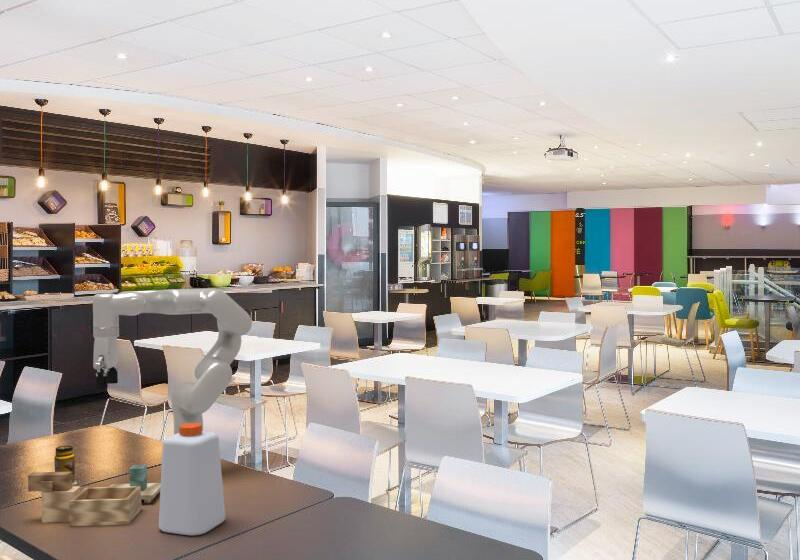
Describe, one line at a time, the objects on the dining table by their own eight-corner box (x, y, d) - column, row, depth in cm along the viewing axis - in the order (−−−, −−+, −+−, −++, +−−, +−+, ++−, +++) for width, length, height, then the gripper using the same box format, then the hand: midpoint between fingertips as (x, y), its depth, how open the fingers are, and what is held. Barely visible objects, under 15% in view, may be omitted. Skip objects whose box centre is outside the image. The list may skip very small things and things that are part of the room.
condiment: (78, 483, 242) (77, 447, 242) (49, 488, 238) (48, 451, 237) (74, 478, 249) (73, 443, 248) (46, 482, 244) (45, 446, 243)
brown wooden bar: (72, 487, 211) (72, 471, 211) (68, 490, 208) (67, 474, 208) (33, 488, 211) (32, 472, 211) (28, 491, 208) (27, 475, 208)
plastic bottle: (231, 519, 209) (229, 420, 208) (200, 538, 194) (198, 433, 193) (185, 513, 213) (183, 417, 212) (152, 532, 199) (149, 429, 198)
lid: (163, 492, 233) (163, 460, 233) (152, 505, 221) (152, 472, 221) (112, 493, 232) (111, 462, 232) (98, 506, 220) (97, 473, 220)
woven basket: (141, 509, 217) (140, 471, 217) (128, 524, 205) (127, 483, 205) (54, 512, 216) (53, 473, 215) (36, 527, 204) (35, 485, 203)
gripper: (103, 329, 243) (104, 381, 243) (84, 335, 225) (85, 391, 226) (126, 329, 243) (127, 381, 244) (109, 335, 226) (110, 390, 226)
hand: (107, 386), depth 235 cm, fingers open, 9 cm apart
